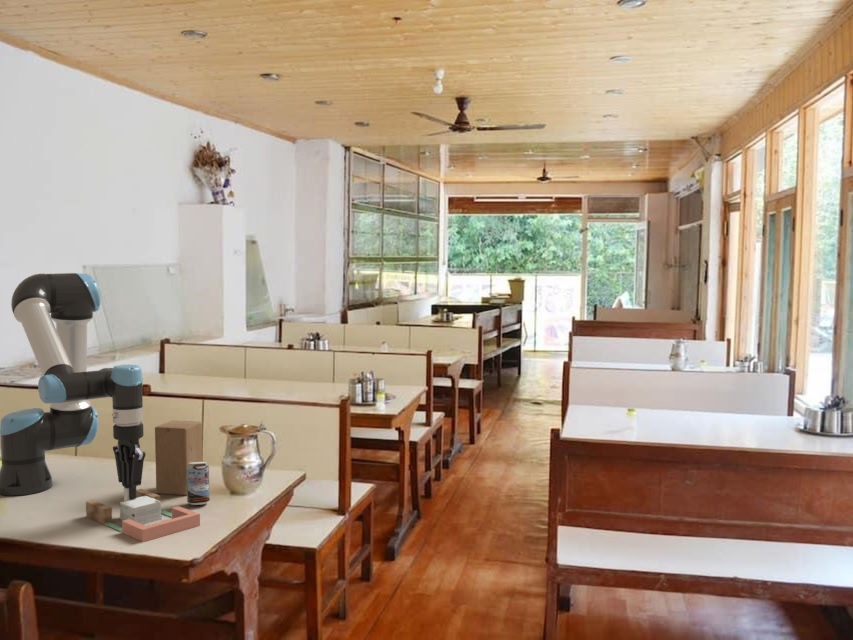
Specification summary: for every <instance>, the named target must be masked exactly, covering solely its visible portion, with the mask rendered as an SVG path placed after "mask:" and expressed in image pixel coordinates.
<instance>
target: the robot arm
mask: <svg viewBox="0 0 853 640" xmlns="http://www.w3.org/2000/svg"><path fill="white" fill-rule="evenodd" d="M100 293H101V292H100V289H99V285H98V283H97V281H96V280H95V277H93V276H92V275H91V274H87V273H78V272H69V273H68V272H66V273H65V272H64V273H60V272H59V273H38V274H37V273H35V274H32V275H30V276H28V277H26V278H24V279H23V280H22V281H21V282H20V283H18V285H17V286H16V288H15V289H14V292H13V293H12V297H11V302H10V303H11V312H12V313H13V317H14V318H15V320H16V321H17V322H19V323H21V325H22V328H23V331H24V333H25V335H26V337H27V340H28V343H29V345H30V347H31V350H32V352H33V353H32V354H34V357H35V360H36V363H37V365H38V367H39V370H40V372H41V374H42V376H41V377H39V379H38V385H37V390H38V391H37V392H38V396H39V398H40V400H41V402H43V403H44V404H50V405H49V411H47V412H45V411H44V409H43V408H38V407H34V408H26V409H21V410H16V411H12V412H10V413H7V414H5V415H4V416H3V417H2V418H1V419H0V455H1V456H0V458H1V466H0V495H2V496H23V495H24V496H25V495H26V496H27V495H31V494H38V493H40V492H44V491H47V490H49V489H51V488H52V487H53V477H52V475H51V472H50V470H49V467H48V465H47V462H46V452H47V451H55V450H62V449H68V448H77V447H78V448H79V447H80V446H85V445H89V444H91V443H92V442H94V440H95V438H96V437H97V434H98V430H99V418H98V416H99V414H98V411H97V409H96V408H95V407H93V406H92V402H91V401H89V400H94V399H95V400H96V399H105V398H111V399H112V402H111V403H112V413H111V416H112V422H113V423H114V425H113V426H112V428H113V429H112V430H113V433H112V435H113V439H115V440H116V441H117V445H114V446H113V447H112V450H113V453H114V459H115V465H116V466H115V467H116V473H117V481H118V483H121V485H122V487H123V501H126V500H132V499H136V490H137V487H138V486H141V485H142V479H143V472H144V471H143V470H144V460H145V457H146V452H145V451H141V445H140V439H142V438H143V437H144V424H143V423H142V422H144V406H143V404H144V403H143V379H144V378H143V373H142V367H141V366H140V365H137V364H119V365H115V366H113V367H103V368H101V369H98V370H91V371H90V370H89V371H87V364H88V363H87V362H88V360H87V359H88V358H87V357H88V355H87V354H88V323H89V322H90V321H92V320H93V318H94V314H93V313H96V312H98V311H99V309H101V308H100V306H101V294H100ZM54 323H55V324H56V325H55V324H54Z"/></svg>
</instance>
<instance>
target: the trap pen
mask: <svg viewBox="0 0 853 640" xmlns="http://www.w3.org/2000/svg"><path fill="white" fill-rule="evenodd" d="M171 513H172V518H171V519H166V520H163V521H159V522H155V523H151V524H148V525H145V524H140V523H138V522H135V521H133V520H131V519H127V520H124V521H122V520H121V527H122V531H121V532H122V534H124V535H127V536H128V537H131V538H134V539H135V540H138V541H140V542H142V543H144V542H147V541H150V540H154V539H158V538H162V537H164V536H169V535H173V534H175V533H178V532H181V531H186V530H189V529H193V528H196V527H200V526H201V513H198V512H196V511H193V510H190V509H187V508H185V507H182V506H173V507H171Z"/></svg>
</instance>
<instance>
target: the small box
mask: <svg viewBox="0 0 853 640" xmlns="http://www.w3.org/2000/svg"><path fill="white" fill-rule="evenodd" d="M119 509H120V510H119V513H120V514H119V517H120V520H121V522H122V521H124V520H127V519H131V520H133V521H135V522H138V523H140V524H142V525H145V524H148V523H151V522H156V521H159V520H162V514H161V509H162V501H161V500H160V501H158V500H155V499H154V498H150V497H148V496H142V497H138V498H136V499H132V500H126V501H124V500H123V501H120V502H119Z"/></svg>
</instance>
